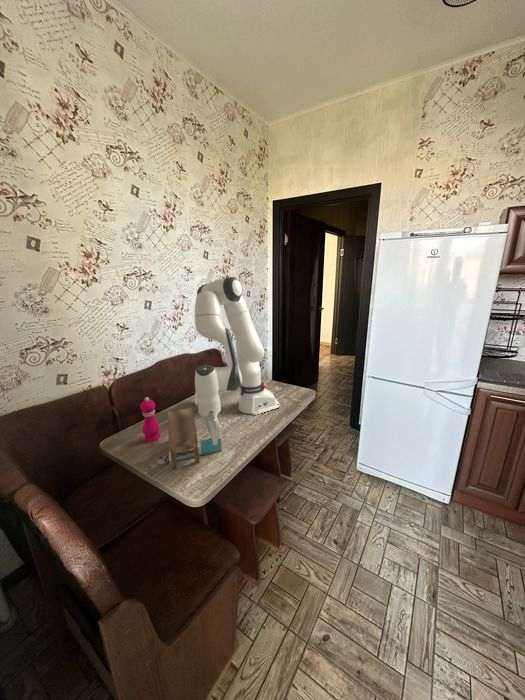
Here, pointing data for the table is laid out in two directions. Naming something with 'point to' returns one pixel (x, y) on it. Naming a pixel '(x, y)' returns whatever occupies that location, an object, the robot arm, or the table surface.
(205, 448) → the block
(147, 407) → the pepper mill
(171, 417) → the wooden bench
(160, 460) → the silver flat dome
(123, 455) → the table surface
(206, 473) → the table surface
